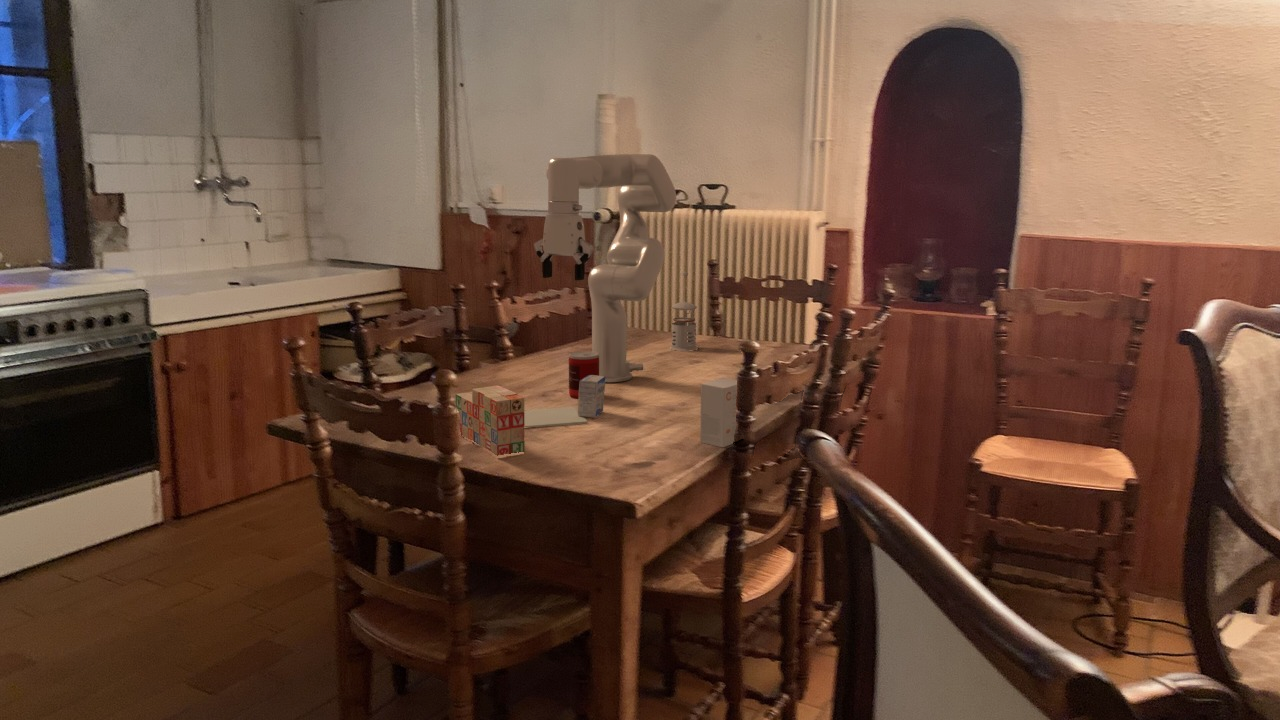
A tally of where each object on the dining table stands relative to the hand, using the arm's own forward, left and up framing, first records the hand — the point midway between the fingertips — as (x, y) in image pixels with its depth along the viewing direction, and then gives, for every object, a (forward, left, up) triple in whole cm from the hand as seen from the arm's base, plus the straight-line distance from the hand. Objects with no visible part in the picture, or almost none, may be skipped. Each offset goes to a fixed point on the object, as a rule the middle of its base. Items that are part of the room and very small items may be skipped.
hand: (563, 278), depth 236 cm
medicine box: (-2, +20, -30) cm, 36 cm away
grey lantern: (-53, -54, -31) cm, 81 cm away
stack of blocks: (+25, +36, -31) cm, 54 cm away
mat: (+10, +19, -30) cm, 37 cm away
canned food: (-5, 0, -31) cm, 31 cm away
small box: (-23, +48, -31) cm, 62 cm away
